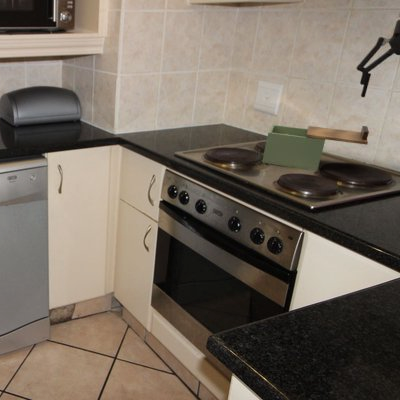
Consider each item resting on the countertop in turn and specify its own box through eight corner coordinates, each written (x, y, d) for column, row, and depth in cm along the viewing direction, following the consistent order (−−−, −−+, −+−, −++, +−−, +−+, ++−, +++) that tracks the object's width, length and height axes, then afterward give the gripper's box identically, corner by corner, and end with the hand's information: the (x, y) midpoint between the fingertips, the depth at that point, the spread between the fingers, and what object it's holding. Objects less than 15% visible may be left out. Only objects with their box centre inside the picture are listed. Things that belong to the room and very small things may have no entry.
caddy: (318, 160, 156) (325, 131, 152) (317, 171, 145) (325, 140, 142) (266, 152, 162) (272, 124, 159) (262, 162, 152) (268, 132, 149)
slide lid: (364, 135, 147) (367, 124, 146) (367, 144, 137) (370, 133, 136) (307, 128, 154) (310, 118, 153) (306, 136, 144) (308, 126, 143)
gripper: (470, 20, 125) (442, 101, 133) (358, 17, 136) (339, 92, 144) (477, 20, 119) (448, 105, 127) (360, 18, 130) (340, 96, 138)
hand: (390, 99), depth 136 cm, fingers open, 13 cm apart
